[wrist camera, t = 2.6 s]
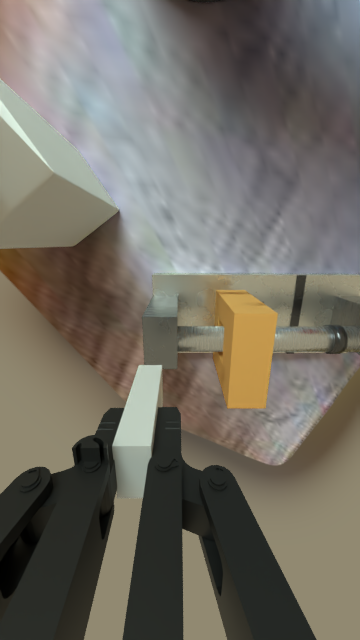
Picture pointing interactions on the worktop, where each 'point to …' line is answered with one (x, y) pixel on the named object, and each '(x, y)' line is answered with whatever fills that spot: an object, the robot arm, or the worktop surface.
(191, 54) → the worktop surface
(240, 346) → the orange tall block
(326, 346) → the pipe stand
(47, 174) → the milk carton
